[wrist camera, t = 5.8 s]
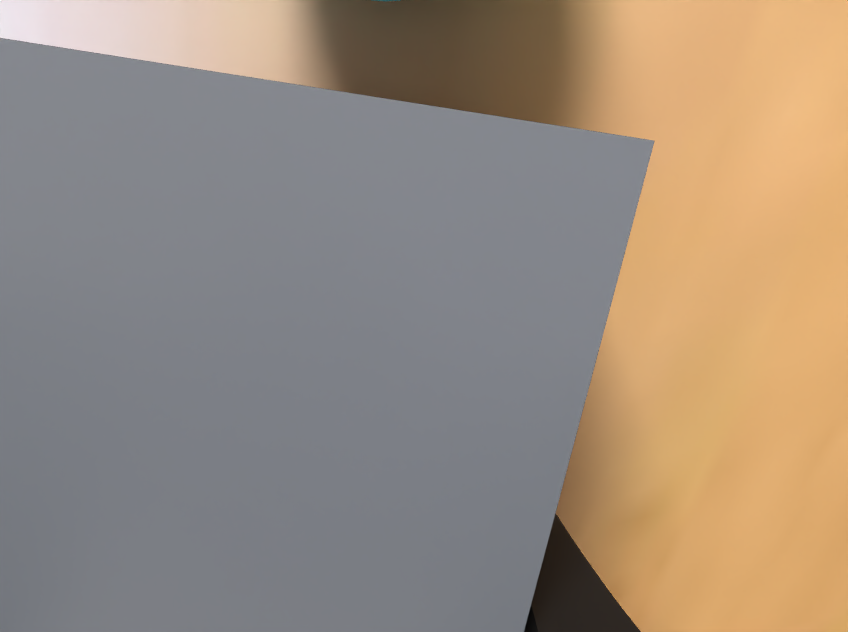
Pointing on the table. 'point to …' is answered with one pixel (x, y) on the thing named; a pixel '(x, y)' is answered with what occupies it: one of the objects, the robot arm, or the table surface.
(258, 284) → the grey block
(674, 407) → the table surface
